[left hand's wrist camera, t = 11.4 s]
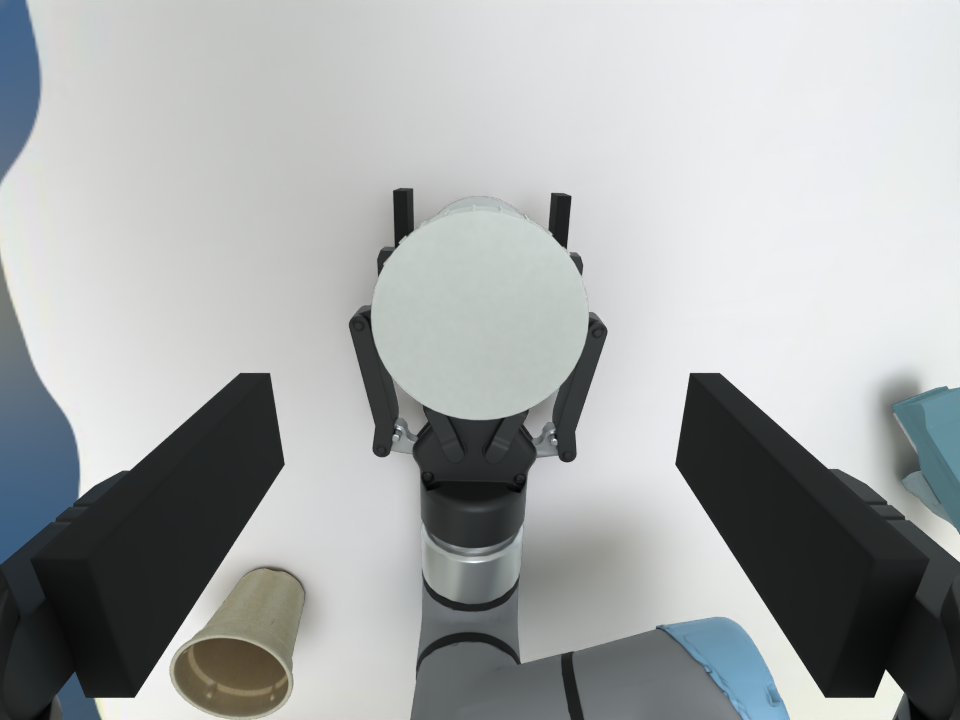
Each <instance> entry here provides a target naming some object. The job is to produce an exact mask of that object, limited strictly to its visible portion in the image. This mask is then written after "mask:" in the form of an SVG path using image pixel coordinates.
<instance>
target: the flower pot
mask: <svg viewBox="0 0 960 720" xmlns="http://www.w3.org/2000/svg"><path fill="white" fill-rule="evenodd" d="M303 606H304V591H303V589H302V586H301V585H300V583H299V582H298V581H297V580H296V579H295V578H294V577H292V576H291V575H289V574H288V573H286V572H283V571H279V572H278V571H272V570H269V569H267V568H264V569H257V570H254V571H251V572H249V573H248V574H246V575H245V576H244V577H243V578H242V579H241V580H240V581H239V583H238V584H237V585H236V587H235V588H234V589H233V591H232V592H231V593H230V595H229V596H228V597H227V599H226V600H225V601H224V602H223V604H222V605H221V606H220V608H219V609H218V610H217V612H216V613H215V614H214V615H213V617H212V618H211V619H210V621H209V622H208V623H207V624H206V626H205V627H204V628H203V629H202V630H201V631H199V632H198V633H197V634H196V635H195V636H194V637H193V638H192V639H191V640H189V641H188V642H186V643H185V644H184V645H182V646H181V647H180V648H179V649H178V651H177V652H176V653H175V655H174V657H173V659H172V661H171V664H170V677H171V682H172V684H173V686H174V687H175V689H176V690H177V692H178V693H179V694H180V695H181V696H182V698H184V700H186V701H187V702H189V703H190V704H191V705H192V706H194V707H196V708H197V709H199V710H201V711H203V712H205V713H208V714H210V715H214V716H217V717H221V718H226V719H234V720H251V719H257V718H261V717H265V716H267V715H270V714H272V713H274V712H275V711H277V710H278V709H280V708H281V707H282V706H283V705H284V704H285V703H286V702H287V700H288V699H289V697H290V695H291V692H292V689H293V675H292V667H293V666H292V664H293V663H292V655H293V650H294V645H295V641H296V636H297V631H298V627H299V622H300V618H301V613H302V609H303Z"/></svg>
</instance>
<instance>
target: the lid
mask: <svg viewBox="0 0 960 720" xmlns="http://www.w3.org/2000/svg"><path fill="white" fill-rule="evenodd" d="M552 235H553V234H552V233H551V232H550V231H549V230H548V229H547V228H546V229H545V230H544V229H543V228H542V227H541V226H540V225H538V224H537V223H535V222H533V221H532V220H530V219H529V218H528V217H527V216H526V215H525V214H524V216H522V215H520V214H517V213H515V212H512V211H508V210H505V209H502V207H501V206H499V208H495V207H487V206H475V205H473V207H465V208H459V209H455V210H451V211H450V209H448V210H447V211H446V212H445V213H442V214H440V215H438V216H435V217H433V218H431V219H430V220H428V221H426V220H424V221H423V222H422V223H421V224H420V226H419V227H418V228H417V229H415V230H414V231H413V232H412V233H410V235H409V236H408V237H406V236H405V237H404V238H403V239H402V240H401V241H400V242H399V244H400V245H399V246H398V247H397V248H396V249H395V250H394V252H393V253H392V255H391V256H390V257H389V258H388V259H387V260H386V261H385V262H384V264H383V265H384V267H383V269H382V271H381V273H380V275H379V277H378V280H377V283H376V286H375V287H374V294H373V299H372V307H371V324H372V332H373V337H374V342H375V345H376V348H377V351H378V353H379V356H380V358H381V360H382V362H383V364H384V366H385V368H386V369H387V371H388V372H389V373H390V375H391V376H392V378H393V379H394V380H395V381H396V382H397V384H398V385H399V386H400V387H401V388H402V389H403V390H404V391H405V392H406V393H408V394H409V395H410V396H411V397H412V398H414V399H415V400H417V401H418V402H420V403H421V404H423V405H425V406H426V407H428V408H430V409H432V410H434V411H437V412H440V413H442V414H445V415H448V416H452V417H456V418H461V419H469V420H490V419H499V418H503V417H508V416H512V415H515V414H518V413H520V412H523V411H525V410H527V409H529V408H531V407H533V406H535V405H537V404H539V403H540V402H542V401H543V400H545V399H546V398H548V397H549V396H550V395H551V394H552V393H553V392H555V391H556V390H557V389H558V388H559V387H560V386H561V384H562V383H563V382H564V381H565V380H566V379H567V378H568V376H569V375H570V373H571V372H572V370H573V369H574V367H575V365H576V363H577V362H578V360H579V358H580V356H581V353H582V350H583V347H584V345H585V341H586V336H587V332H588V321H589V310H588V300H587V295H586V290H585V287H584V284H583V281H582V276H581V274H580V273H579V271H578V269H577V267H576V265H575V263H574V262H573V261H572V259H571V258H570V255H571V254H570V253H569V252H568V251H567V250H566V249H565V248H564V247H562V246H561V245H560V244H559V243H558V242H557V241H556V240H555V239H554V238H553V237H552Z"/></svg>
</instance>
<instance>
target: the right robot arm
mask: <svg viewBox="0 0 960 720" xmlns="http://www.w3.org/2000/svg"><path fill="white" fill-rule="evenodd" d="M393 200H394V232H395V247H384V248H383V249H382V250H380V253H379V256H378V259H377V262H378V277H379V275H380V273H381V271H382V269H383V267H384V265H383V264H384V262H385V261H386V260H387V259H388V258H389V257H390V256H391V255H392V253H393V252H394V250H395V249H396V248H397V247H398V246H399V245H400V244H399V242H400V241H401V240H402V239H403V238H404V237H405V236H406V237H408V236H409V235H410V233H412V232H413V231H414V216H413V189H410V188H400V189H397V190H394V191H393ZM570 207H571V196H570V195H567V194H564V193H551V205H550V218H549V231H550V232H551V233H552V234H553V235H552V237H553V238H554V239H555V240H556V241H557V242H558V243H559V244H560V245H561V246H562V247H564V248H565V249H566V250H567V240H568V229H569V218H570ZM569 253H570V254H571V255H570V258H571V259H572V261H573V262H574V263H575V265H576V267H577V269H578V271H579V273H580V274H581V276H582V271H583V263H582V260H581V257H580V256H579V255H578V254H577V253H571V252H569ZM371 307H372V305H370V306H363V307H361V308H360V309H359V310H358V311H357V312H356V314H355V315H354V316H353V317H352V319H351V320H350V322H349V328H350V332H351V336H352V339H353V343H354V347H355V351H356V355H357V358H358V362H359V366H360V370H361V373H362V377H363V381H364V385H365V389H366V392H367V396H368V400H369V404H370V407H371V411H372V415H373V419H374V423H375V434H374V441H373V452H374V454H375V455H376V456H378V457H386V456H388V455H389V454H390V451H396V452H402V453H408V454H413V457H414V459H415V461H416V462H417V464H418V466H419V468H420V480H421V518H422V525H421V546H422V576H423V599H422V624H421V633H420V641H419V649H418V657H417V666H416V687H415V693H414V699H413V706H412V712H411V719H410V720H790V718H789V715H788V712H787V710H786V707H785V705H784V702H783V700H782V699H781V697H780V695H779V693H778V691H777V689H776V686H775V684H774V680H773V678H772V675H771V673H770V671H769V669H768V667H767V665H766V663H765V661H764V660H763V658H762V656H761V654H760V652H759V651H758V649H757V647H756V646H755V644H754V642H753V641H752V639H751V638H750V636H749V635H748V634H747V633H746V631H745V630H744V629H743V628H742V627H741V626H740V625H739V624H737V623H736V622H734V621H732V620H731V619H728V618H725V617H713V618H707V619H700V620H694V621H688V622H682V623H676V624H670V625H659V626H656V629H655V630H652V631H648V632H645V633H641V634H637V635H634V636H630V637H627V638H623V639H619V640H616V641H612V642H609V643H605V644H601V645H598V646H594V647H591V648H587V649H583V650H580V651H576V652H574V651H573V652H568V653H565V654H559V655H555V656H552V657H548V658H544V659H540V660H536V661H532V662H528V663H524V664H521V662H520V653H519V641H518V627H517V610H518V582H519V576H520V569H521V557H522V542H523V521H524V515H525V502H526V488H527V475H528V471H529V469H530V467H531V466H532V465H533V463H534V462H535V460H536V458H539V457H548V456H557V455H559V458H560V460H561V461H563V462H571V461H573V460H574V459H575V458H576V454H577V453H576V439H575V430H576V427H577V424H578V421H579V418H580V415H581V412H582V409H583V406H584V403H585V400H586V397H587V394H588V391H589V388H590V385H591V382H592V379H593V376H594V372H595V369H596V366H597V363H598V360H599V357H600V354H601V351H602V348H603V345H604V342H605V339H606V336H607V328H606V326H605V325H604V324H603V322H602V321H601V320H600V319H599V317H598V316H597V315H596V314H595V313H593V312H589V321H588V332H587V336H586V341H585V345H584V347H583V350H582V353H581V356H580V358H579V360H578V362H577V363H576V365H575V367H574V369H573V370H572V372H571V373H570V375H569V376H568V378H567V379H566V380H565V381H564V382H563V383H562V384H561V386H560V388H559V392H558V395H557V398H556V402H555V405H554V409H553V415H552V422H548V423H547V424H546V425H545V426H544V428H543V431H542V434H541V435H540V436H539V437H538V438H535V439H533V437H532V436H531V435H530V433H529V432H528V431H527V429H526V428H525V427H524V425H523V422H524V420H525V419H526V417H527V414H528V411H529V409H527V410H525V411H523V412H520V413H518V414H515V415H512V416H508V417H503V418H499V419H490V420H469V419H461V418H456V417H452V416H448V415H445V414H442V413H440V412H437V411H434V410H432V409H430V408H428V407H426V406H425V405H423V404H422V405H423V409H424V413H425V415H426V417H427V419H428V422H427V423H426V425H425V426H424V427H423V428H422V430H421V431H420V432H419V433H418V434H417V436H416V435H413V434H411V433H410V432H409V430H408V425H407V423H406V422H405V420H404V419H403V418H398V415H399V408H398V401H397V397H396V393H395V389H394V385H393V381H392V377H391V375H390V373H389V372H388V371H387V369H386V368H385V366H384V364H383V362H382V360H381V358H380V356H379V353H378V351H377V348H376V345H375V342H374V337H373V332H372V324H371Z"/></svg>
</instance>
